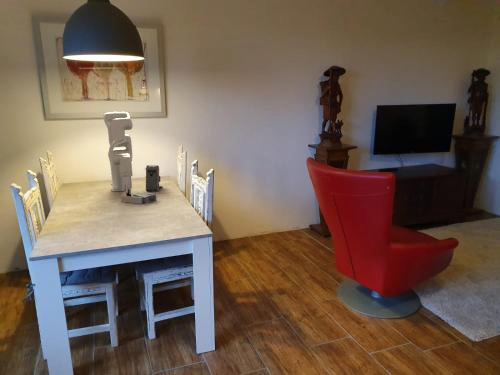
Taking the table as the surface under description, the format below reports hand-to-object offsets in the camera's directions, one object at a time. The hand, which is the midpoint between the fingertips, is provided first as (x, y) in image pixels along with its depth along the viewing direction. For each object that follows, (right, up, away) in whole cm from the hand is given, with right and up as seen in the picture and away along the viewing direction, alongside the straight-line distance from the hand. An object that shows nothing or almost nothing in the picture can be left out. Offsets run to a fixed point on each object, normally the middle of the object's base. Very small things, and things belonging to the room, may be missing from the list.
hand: (129, 199), depth 259 cm
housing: (+11, -1, +1) cm, 11 cm away
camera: (+9, +7, +32) cm, 34 cm away
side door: (+4, -2, -4) cm, 6 cm away
